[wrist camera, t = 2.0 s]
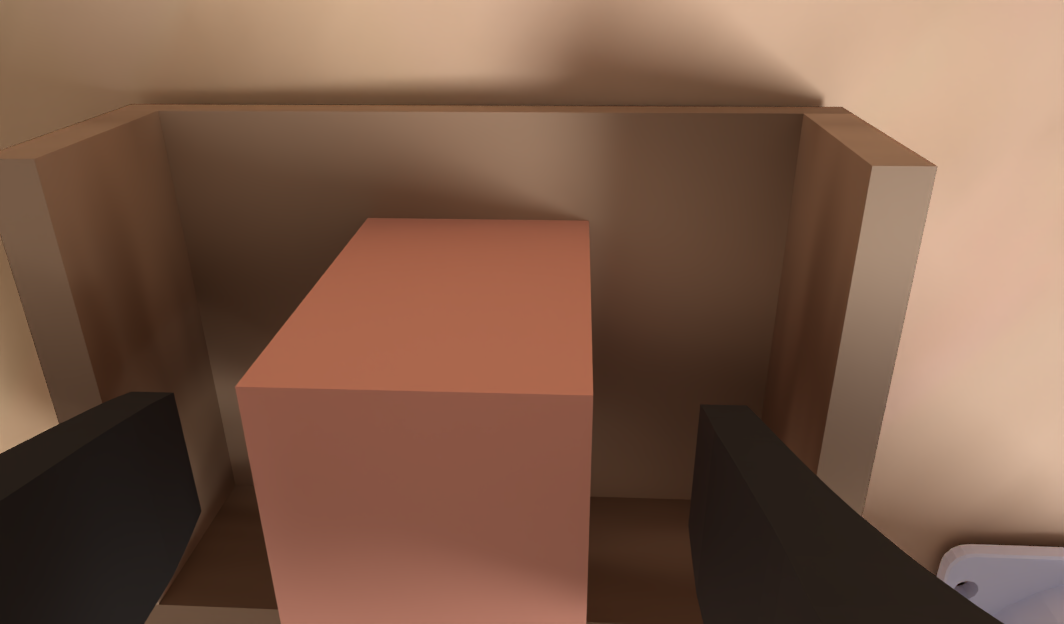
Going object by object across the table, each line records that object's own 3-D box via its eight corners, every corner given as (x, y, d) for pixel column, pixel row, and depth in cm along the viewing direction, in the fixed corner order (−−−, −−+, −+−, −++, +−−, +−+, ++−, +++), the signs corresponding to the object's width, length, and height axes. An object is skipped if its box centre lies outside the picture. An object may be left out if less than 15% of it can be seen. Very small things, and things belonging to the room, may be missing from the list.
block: (584, 411, 16) (584, 658, 10) (386, 406, 16) (284, 645, 10) (589, 220, 14) (593, 395, 9) (367, 217, 14) (234, 386, 9)
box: (777, 514, 17) (829, 666, 14) (217, 496, 18) (125, 635, 14) (841, 106, 13) (937, 166, 10) (131, 104, 14) (-24, 159, 11)
